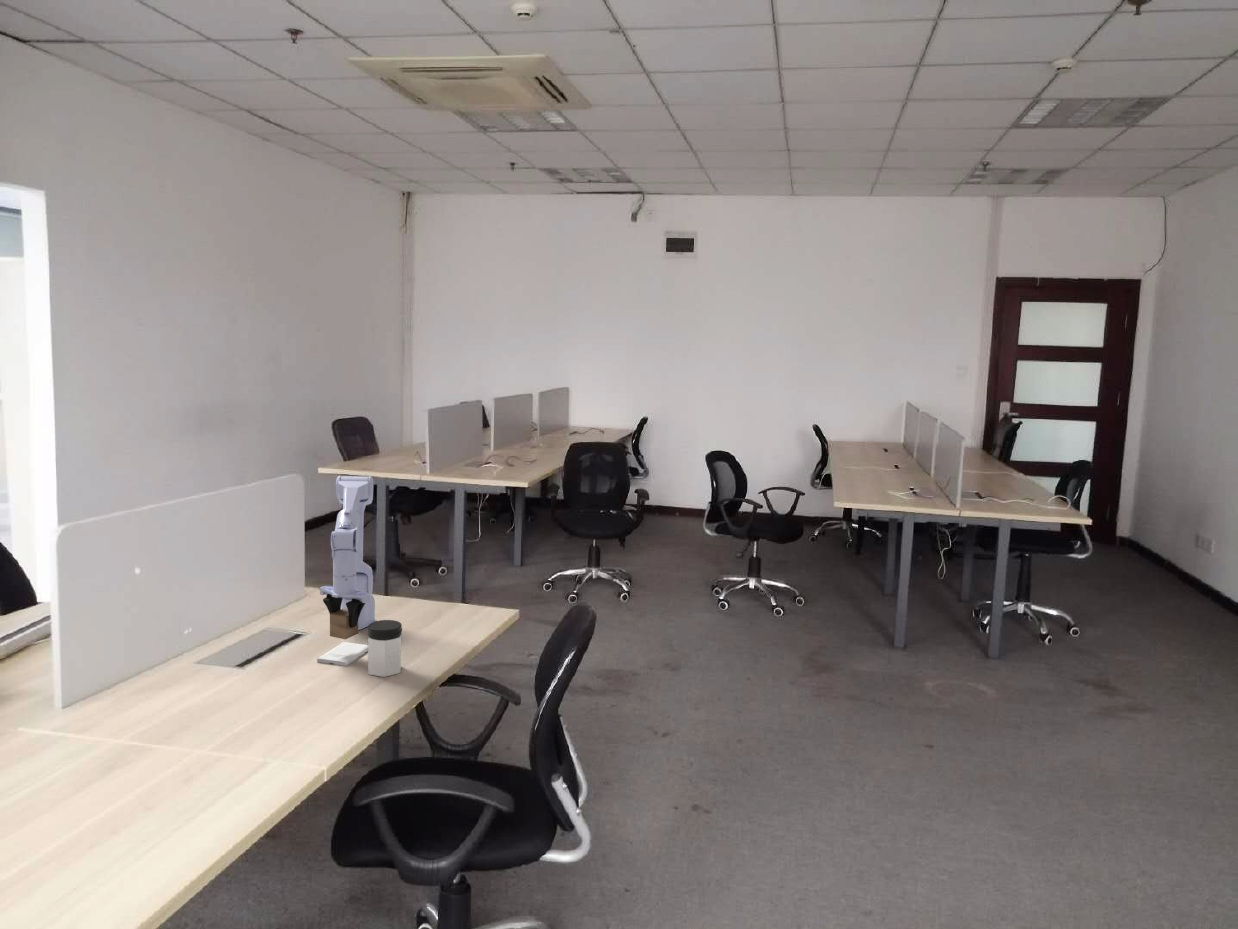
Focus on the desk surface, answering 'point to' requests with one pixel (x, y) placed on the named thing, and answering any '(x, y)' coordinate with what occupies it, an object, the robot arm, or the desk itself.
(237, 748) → the desk surface
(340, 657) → the external hard drive
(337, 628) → the walnut block
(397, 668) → the jar
